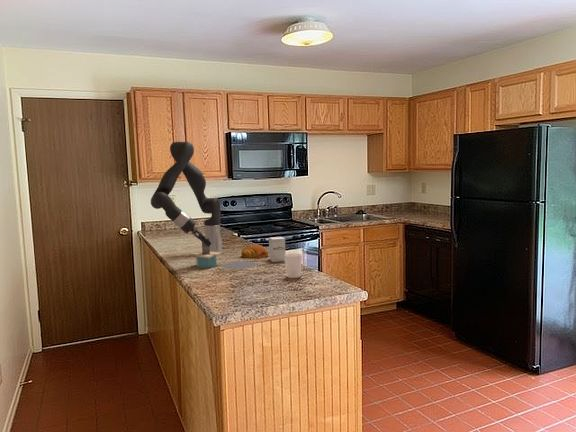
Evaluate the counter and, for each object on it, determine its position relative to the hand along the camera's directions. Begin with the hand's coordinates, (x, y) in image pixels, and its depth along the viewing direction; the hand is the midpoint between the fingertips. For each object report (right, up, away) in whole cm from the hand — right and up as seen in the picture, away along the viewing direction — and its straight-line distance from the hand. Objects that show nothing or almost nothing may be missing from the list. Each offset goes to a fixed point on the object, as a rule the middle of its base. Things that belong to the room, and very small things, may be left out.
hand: (209, 244), depth 230 cm
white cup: (+43, -13, -26) cm, 52 cm away
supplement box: (+35, -10, +10) cm, 37 cm away
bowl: (-2, -12, +1) cm, 12 cm away
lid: (-2, -6, 0) cm, 6 cm away
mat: (+15, -11, 0) cm, 19 cm away
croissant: (+22, -9, +23) cm, 33 cm away
